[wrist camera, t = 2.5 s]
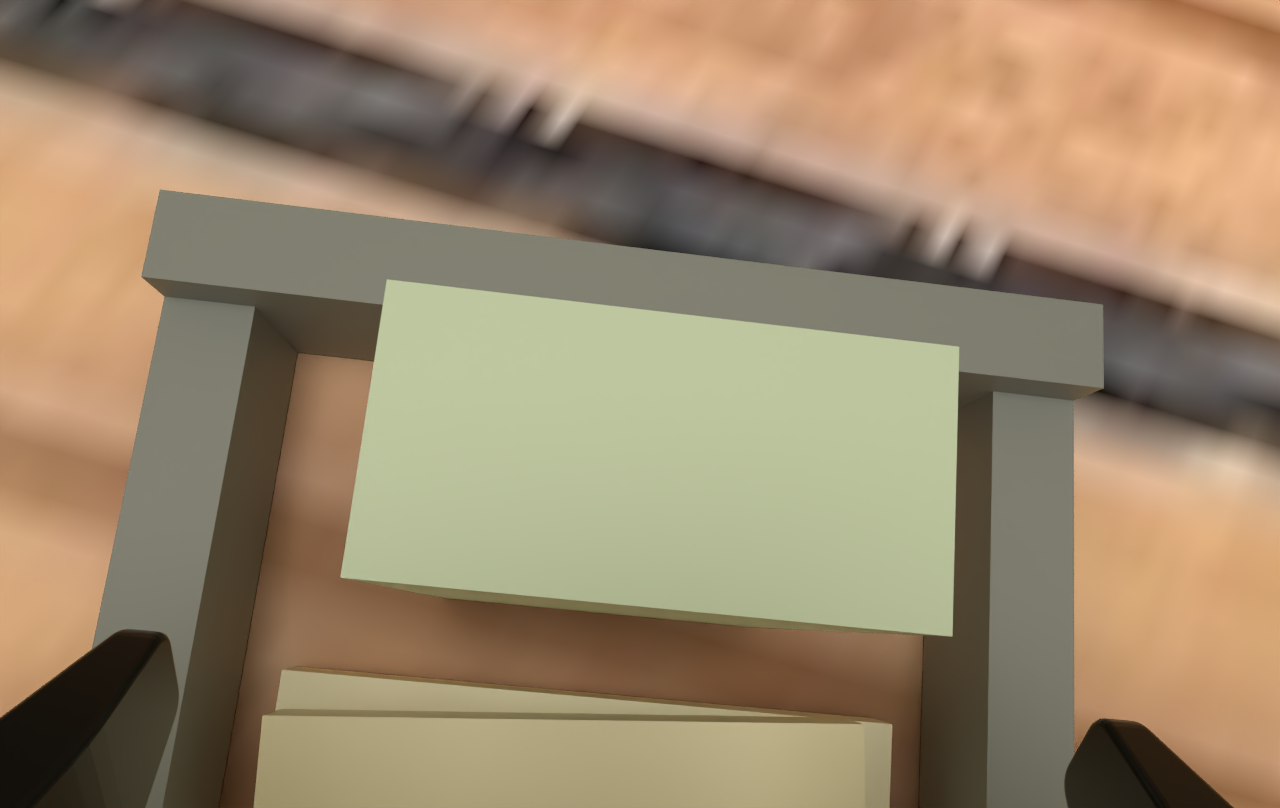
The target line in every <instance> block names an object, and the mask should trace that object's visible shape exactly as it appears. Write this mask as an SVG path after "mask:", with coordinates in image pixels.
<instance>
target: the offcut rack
mask: <svg viewBox="0 0 1280 808" xmlns="http://www.w3.org/2000/svg"><path fill="white" fill-rule="evenodd" d="M141 277H142V278H144V279H145V280H146V281H147V282H148V283H149V284H151V285H152V286H153V287H154V288H155V289H157V290H158V291H159V292H160V293H161V294H162V295H164V296H165V297H164V302H163V307H162V312H161V317H160V322H159V327H158V331H157V336H156V341H155V346H154V351H153V356H152V360H151V365H150V370H149V375H148V380H147V385H146V390H145V394H144V399H143V404H142V409H141V414H140V419H139V424H138V428H137V433H136V438H135V443H134V448H133V453H132V457H131V462H130V467H129V472H128V477H127V482H126V487H125V491H124V496H123V501H122V506H121V511H120V516H119V521H118V525H117V530H116V535H115V540H114V545H113V550H112V554H111V559H110V564H109V569H108V574H107V579H106V584H105V588H104V593H103V598H102V603H101V608H100V613H99V618H98V622H97V627H96V632H95V637H94V642H93V647H92V649H93V648H94V647H96V646H97V645H98V644H100V643H101V642H103V641H104V640H105V639H107V638H108V637H109V636H111V635H112V634H114V633H115V632H118V631H120V630H123V629H136V630H147V631H157V632H162V633H164V634H166V635H167V637H168V638H169V640H170V643H171V647H172V653H173V659H174V664H175V670H176V676H177V682H178V687H179V704H178V709H177V714H176V717H175V721H174V724H173V727H172V730H171V733H170V736H169V739H168V742H167V745H166V748H165V751H164V754H163V757H162V760H161V763H160V766H159V769H158V772H157V775H156V778H155V781H154V784H153V787H152V790H151V793H150V796H149V799H148V802H147V805H146V808H219V803H220V797H221V791H222V785H223V780H224V774H225V768H226V762H227V756H228V751H229V745H230V739H231V733H232V728H233V722H234V716H235V710H236V705H237V699H238V693H239V687H240V682H241V676H242V670H243V664H244V658H245V653H246V647H247V641H248V635H249V630H250V624H251V618H252V612H253V607H254V601H255V595H256V589H257V584H258V578H259V572H260V566H261V560H262V555H263V549H264V543H265V537H266V532H267V526H268V520H269V514H270V509H271V503H272V497H273V491H274V486H275V480H276V474H277V468H278V462H279V457H280V451H281V445H282V439H283V434H284V428H285V422H286V416H287V411H288V405H289V399H290V393H291V388H292V382H293V376H294V370H295V364H296V359H297V353H307V354H316V355H325V356H334V357H343V358H352V359H361V360H370V361H374V358H375V352H376V346H377V339H378V333H379V326H380V320H381V314H382V307H383V301H384V294H385V288H386V282H387V279H388V280H397V281H405V282H414V283H422V284H431V285H439V286H448V287H456V288H465V289H473V290H482V291H490V292H499V293H507V294H516V295H524V296H533V297H541V298H550V299H558V300H567V301H575V302H584V303H592V304H601V305H609V306H618V307H626V308H635V309H643V310H652V311H660V312H669V313H677V314H686V315H694V316H703V317H711V318H720V319H728V320H737V321H745V322H754V323H762V324H771V325H779V326H788V327H796V328H805V329H813V330H822V331H830V332H839V333H847V334H856V335H864V336H872V337H881V338H889V339H898V340H906V341H915V342H923V343H932V344H940V345H949V346H957V347H959V381H958V423H957V466H956V508H955V550H954V593H953V635H952V637H950V636H928V635H924V652H923V685H922V719H921V753H920V786H919V808H1068V807H1067V802H1066V797H1065V791H1064V779H1065V774H1066V770H1067V767H1068V765H1069V763H1070V762H1071V760H1072V758H1073V756H1074V419H1073V401H1074V400H1076V399H1079V398H1081V397H1083V396H1086V395H1088V394H1091V393H1093V392H1096V391H1098V390H1100V389H1103V388H1104V370H1103V305H1101V304H1093V303H1085V302H1077V301H1069V300H1060V299H1052V298H1044V297H1036V296H1028V295H1019V294H1011V293H1003V292H995V291H987V290H978V289H970V288H962V287H954V286H946V285H937V284H929V283H921V282H913V281H905V280H896V279H888V278H880V277H872V276H864V275H855V274H847V273H839V272H831V271H823V270H814V269H806V268H798V267H790V266H782V265H773V264H765V263H757V262H749V261H741V260H732V259H724V258H716V257H708V256H700V255H692V254H683V253H675V252H667V251H659V250H651V249H642V248H634V247H626V246H618V245H610V244H601V243H593V242H585V241H577V240H569V239H560V238H552V237H544V236H536V235H528V234H519V233H511V232H503V231H495V230H487V229H478V228H470V227H462V226H454V225H446V224H437V223H429V222H421V221H413V220H405V219H396V218H388V217H380V216H372V215H364V214H355V213H347V212H339V211H331V210H323V209H314V208H306V207H298V206H290V205H282V204H273V203H265V202H257V201H249V200H241V199H232V198H224V197H216V196H208V195H200V194H191V193H183V192H175V191H167V190H160V192H159V196H158V201H157V206H156V210H155V215H154V220H153V225H152V229H151V234H150V239H149V243H148V248H147V253H146V258H145V262H144V267H143V272H142V276H141ZM891 751H892V724H890V723H886V722H883V721H880V720H877V719H873V718H867V717H855V716H844V715H833V714H822V713H811V712H800V711H789V710H777V709H766V708H755V707H744V706H733V705H722V704H711V703H699V702H688V701H677V700H666V699H655V698H644V697H633V696H622V695H610V694H599V693H588V692H577V691H566V690H555V689H544V688H532V687H521V686H510V685H499V684H488V683H477V682H466V681H454V680H443V679H432V678H421V677H410V676H399V675H388V674H377V673H365V672H354V671H343V670H332V669H321V668H310V667H299V666H298V667H293V668H288V669H283V670H282V673H281V679H280V685H279V691H278V697H277V703H276V709H275V711H274V712H271V713H268V714H265V715H262V726H261V736H260V746H259V756H258V766H257V776H256V786H255V797H254V807H253V808H889V806H890V778H891Z"/></svg>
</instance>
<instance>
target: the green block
mask: <svg viewBox="0 0 1280 808" xmlns="http://www.w3.org/2000/svg"><path fill="white" fill-rule="evenodd" d="M958 381H959V347H957V346H949V345H940V344H932V343H923V342H915V341H906V340H898V339H889V338H881V337H872V336H864V335H856V334H847V333H839V332H830V331H822V330H813V329H805V328H796V327H788V326H779V325H771V324H762V323H754V322H745V321H737V320H728V319H720V318H711V317H703V316H694V315H686V314H677V313H669V312H660V311H652V310H643V309H635V308H626V307H618V306H609V305H601V304H592V303H584V302H575V301H567V300H558V299H550V298H541V297H533V296H524V295H516V294H507V293H499V292H490V291H482V290H473V289H465V288H456V287H448V286H439V285H431V284H422V283H414V282H405V281H397V280H388V279H387V282H386V288H385V294H384V301H383V307H382V314H381V320H380V326H379V333H378V339H377V346H376V352H375V358H374V365H373V371H372V378H371V384H370V391H369V397H368V403H367V410H366V416H365V423H364V429H363V435H362V442H361V448H360V455H359V461H358V468H357V474H356V480H355V487H354V493H353V500H352V506H351V512H350V519H349V525H348V532H347V538H346V545H345V551H344V557H343V564H342V570H341V577H340V578H345V579H350V580H355V581H360V582H365V583H370V584H375V585H380V586H385V587H390V588H395V589H400V590H405V591H410V592H416V593H421V594H426V595H431V596H436V597H441V598H448V599H459V600H469V601H480V602H490V603H501V604H511V605H521V606H532V607H542V608H553V609H563V610H574V611H584V612H595V613H605V614H616V615H626V616H637V617H647V618H657V619H668V620H678V621H689V622H699V623H710V624H720V625H731V626H741V627H753V628H775V629H797V630H819V631H841V632H862V633H884V634H906V635H928V636H950V637H952V635H953V593H954V550H955V508H956V466H957V423H958Z"/></svg>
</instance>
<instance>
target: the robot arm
mask: <svg viewBox="0 0 1280 808" xmlns="http://www.w3.org/2000/svg"><path fill="white" fill-rule="evenodd" d="M178 704H179V687H178V682H177V676H176V670H175V664H174V659H173V653H172V647H171V643H170V640H169V638H168V637H167V635H166V634H164V633H162V632H157V631H147V630H136V629H123V630H120V631H118V632H115V633H114V634H112V635H111V636H109V637H108V638H107V639H105V640H104V641H103V642H101V643H100V644H98V645H97V646H96V647H94V648H93V649H92V650H90V651H89V652H88V653H86V654H85V655H84V656H82V657H81V658H80V659H78V660H77V661H76V662H74V663H73V664H72V665H70V666H69V667H68V668H66V669H65V670H64V671H62V672H61V673H60V674H58V675H57V676H56V677H54V678H53V679H52V680H50V681H49V682H48V683H46V684H45V685H43V686H42V687H41V688H39V689H38V690H37V691H35V692H34V693H33V694H31V695H30V696H29V697H27V698H26V699H25V700H23V701H22V702H21V703H19V704H18V705H17V706H15V707H14V708H13V709H11V710H10V711H9V712H7V713H6V714H5V715H3V716H2V717H1V718H0V808H146V805H147V802H148V799H149V796H150V793H151V790H152V787H153V784H154V781H155V778H156V775H157V772H158V769H159V766H160V763H161V760H162V757H163V754H164V751H165V748H166V745H167V742H168V739H169V736H170V733H171V730H172V727H173V724H174V721H175V717H176V714H177V709H178ZM1064 791H1065V797H1066V802H1067V807H1068V808H1234V807H1232V806H1231V805H1230V804H1229V803H1228V802H1227V801H1226V800H1225V799H1224V798H1223V797H1222V796H1221V795H1219V794H1218V793H1217V792H1216V791H1215V790H1214V789H1213V788H1212V787H1211V786H1210V785H1209V784H1208V783H1206V782H1205V781H1204V780H1203V779H1202V778H1201V777H1200V776H1199V775H1198V774H1197V773H1196V772H1194V771H1193V770H1192V769H1191V768H1190V767H1189V766H1188V765H1187V764H1186V763H1185V762H1184V761H1183V760H1181V759H1180V758H1179V757H1178V756H1177V755H1176V754H1175V753H1174V752H1173V751H1172V750H1171V749H1170V748H1168V747H1167V746H1166V745H1165V744H1164V743H1163V742H1162V741H1161V740H1160V739H1159V738H1158V737H1156V736H1155V735H1154V734H1153V733H1152V732H1151V731H1150V730H1149V729H1148V728H1146V727H1145V726H1144V725H1142V724H1140V723H1138V722H1134V721H1127V720H1116V719H1105V718H1104V719H1099V720H1097V721H1096V722H1094V723H1093V724H1092V725H1091V727H1090V728H1089V730H1088V732H1087V734H1086V735H1085V737H1084V739H1083V741H1082V742H1081V744H1080V746H1079V748H1078V749H1077V751H1076V753H1075V755H1074V756H1073V758H1072V760H1071V762H1070V763H1069V765H1068V767H1067V770H1066V774H1065V779H1064Z"/></svg>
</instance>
